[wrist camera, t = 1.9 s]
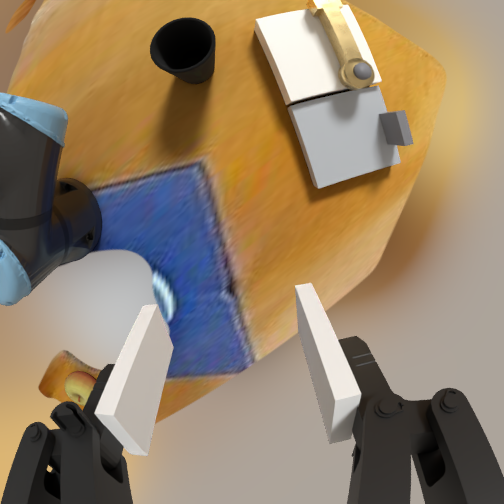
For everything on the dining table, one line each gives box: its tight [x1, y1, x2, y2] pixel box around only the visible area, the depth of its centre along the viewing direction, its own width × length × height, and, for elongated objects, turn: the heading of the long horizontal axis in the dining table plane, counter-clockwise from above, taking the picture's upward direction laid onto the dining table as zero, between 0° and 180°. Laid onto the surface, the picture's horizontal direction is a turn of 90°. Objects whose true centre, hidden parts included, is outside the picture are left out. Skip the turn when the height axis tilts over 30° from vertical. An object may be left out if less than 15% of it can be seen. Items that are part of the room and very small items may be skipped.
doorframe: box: [254, 5, 413, 189], centre depth 34 cm, size 15×28×9 cm, turn 20°
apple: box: [65, 371, 96, 406], centre depth 55 cm, size 10×10×8 cm
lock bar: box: [307, 0, 375, 90], centre depth 29 cm, size 4×15×3 cm, turn 20°
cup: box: [150, 18, 215, 84], centre depth 30 cm, size 8×8×12 cm
